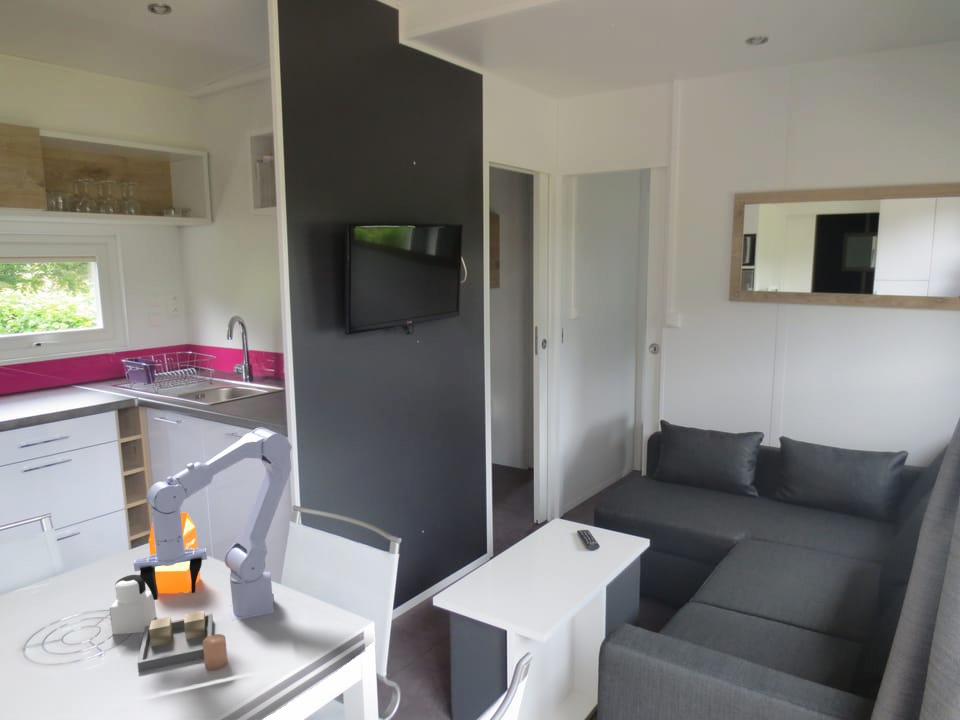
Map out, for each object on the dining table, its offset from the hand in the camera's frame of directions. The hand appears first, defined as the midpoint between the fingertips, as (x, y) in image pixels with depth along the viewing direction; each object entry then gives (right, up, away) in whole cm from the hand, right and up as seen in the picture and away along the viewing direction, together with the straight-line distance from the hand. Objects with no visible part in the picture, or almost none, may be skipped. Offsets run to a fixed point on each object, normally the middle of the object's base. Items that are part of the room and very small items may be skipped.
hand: (175, 594), depth 151 cm
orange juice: (-11, -7, +26) cm, 29 cm away
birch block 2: (+4, -9, +2) cm, 10 cm away
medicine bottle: (-12, -10, +7) cm, 17 cm away
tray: (+2, -11, -2) cm, 11 cm away
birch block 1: (-3, -10, 0) cm, 10 cm away
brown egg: (+13, -12, -10) cm, 20 cm away
